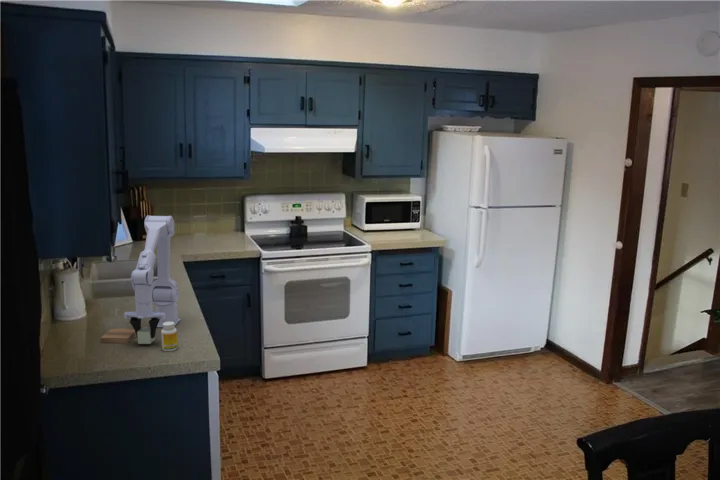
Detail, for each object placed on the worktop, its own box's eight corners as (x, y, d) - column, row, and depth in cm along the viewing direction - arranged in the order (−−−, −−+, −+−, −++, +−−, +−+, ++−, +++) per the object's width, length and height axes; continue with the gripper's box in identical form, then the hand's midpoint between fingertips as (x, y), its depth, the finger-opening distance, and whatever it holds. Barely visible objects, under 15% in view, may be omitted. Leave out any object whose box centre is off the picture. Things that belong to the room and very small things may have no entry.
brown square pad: (112, 334, 238) (112, 328, 238) (138, 335, 238) (138, 328, 237) (101, 344, 228) (100, 337, 228) (127, 344, 228) (127, 338, 227)
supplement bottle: (159, 348, 223) (157, 323, 221) (172, 344, 227) (171, 319, 225) (167, 352, 219) (165, 326, 218) (180, 348, 223) (179, 323, 221)
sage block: (142, 339, 230) (142, 327, 229) (154, 339, 229) (154, 327, 229) (138, 343, 225) (137, 331, 224) (150, 343, 225) (149, 332, 224)
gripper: (119, 304, 221) (122, 340, 223) (159, 305, 220) (162, 341, 223) (127, 298, 227) (130, 333, 230) (166, 299, 227) (168, 334, 230)
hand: (146, 337), depth 227 cm, fingers closed on sage block, 4 cm apart
